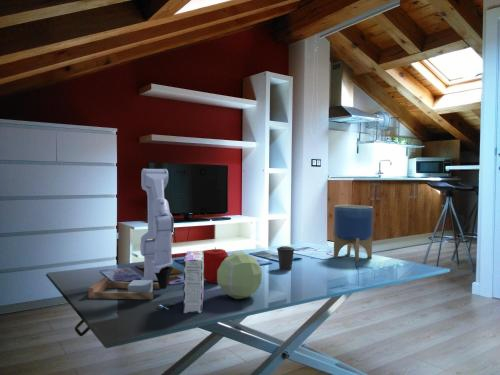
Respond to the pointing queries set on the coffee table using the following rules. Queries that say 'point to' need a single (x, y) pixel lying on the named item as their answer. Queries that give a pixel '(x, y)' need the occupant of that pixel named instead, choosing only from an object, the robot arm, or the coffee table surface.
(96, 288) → the track
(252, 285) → the decorative sphere
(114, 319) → the coffee table surface
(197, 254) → the candy box
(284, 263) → the coffee cup
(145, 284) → the keeper
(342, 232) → the planter
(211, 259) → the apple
